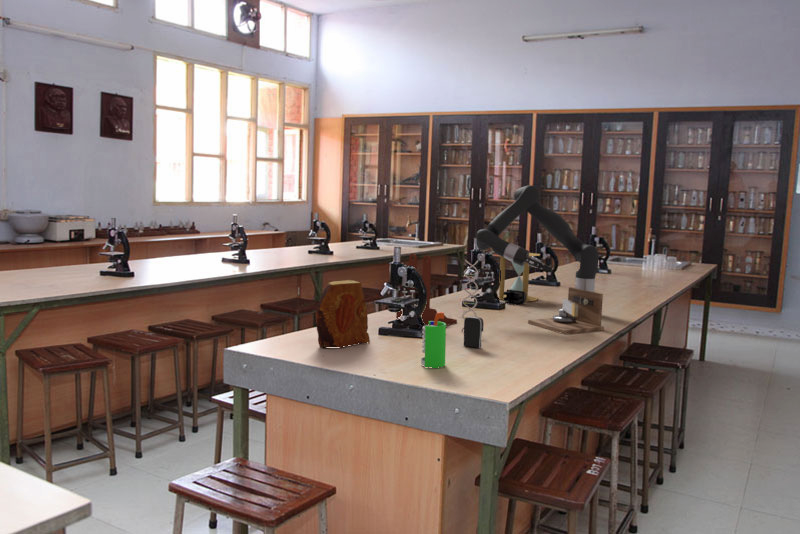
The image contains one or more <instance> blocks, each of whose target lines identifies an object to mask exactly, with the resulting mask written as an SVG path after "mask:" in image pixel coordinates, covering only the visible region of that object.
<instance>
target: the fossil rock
mask: <svg viewBox="0 0 800 534" xmlns="http://www.w3.org/2000/svg"><path fill="white" fill-rule="evenodd" d="M314 315H315V325H316V331H317V342H318V346H319V347H320V346H321V347H343V346H348V345H353V344H358V343H367V342H371V340H370V334H369V333H368V329H369V325H368V321H369V320H368V318H369V317H368V307H367V304H366V301H365V294H364V292H363V288H362V282H359V281H356V280H352V279H346V280H337V281H331V282H328V283H327V285H326V286H325V288H324V290H323V291H322V294H321V296H320V298H319V301H318V304H317V307H316V310H315V313H314ZM358 345H359V344H358ZM353 346H354V345H353ZM321 347H320V348H321Z"/></svg>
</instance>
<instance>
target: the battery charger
mask: <svg viewBox="0 0 800 534" xmlns="http://www.w3.org/2000/svg"><path fill="white" fill-rule="evenodd" d="M465 317H466V316H465ZM463 320H464V319H463ZM463 327H464V329H463V347H467V346H468V348H472V347H474V348H473V349H481V348H482V333H483V332H484V320H483V318H482V317H479V316H477V317H475V316H472V315H471V316H467V317H466V318H465V320H464V321H463ZM480 347H481V348H480Z"/></svg>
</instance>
